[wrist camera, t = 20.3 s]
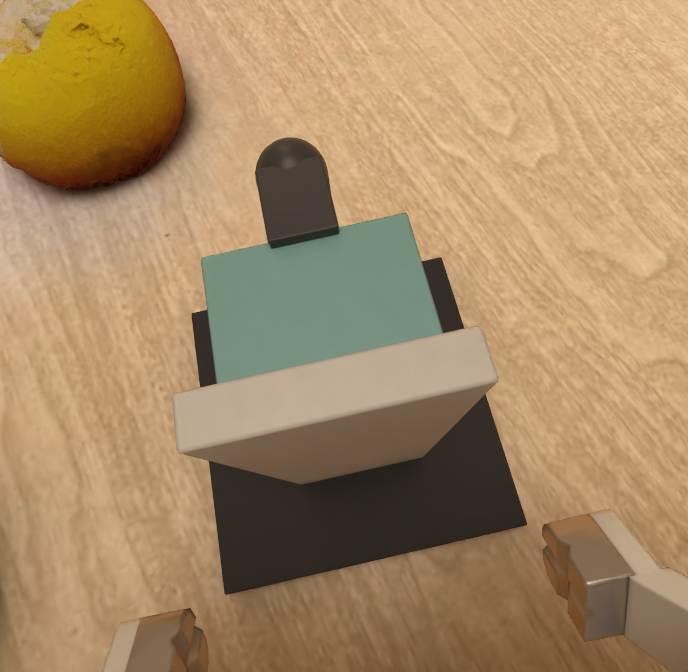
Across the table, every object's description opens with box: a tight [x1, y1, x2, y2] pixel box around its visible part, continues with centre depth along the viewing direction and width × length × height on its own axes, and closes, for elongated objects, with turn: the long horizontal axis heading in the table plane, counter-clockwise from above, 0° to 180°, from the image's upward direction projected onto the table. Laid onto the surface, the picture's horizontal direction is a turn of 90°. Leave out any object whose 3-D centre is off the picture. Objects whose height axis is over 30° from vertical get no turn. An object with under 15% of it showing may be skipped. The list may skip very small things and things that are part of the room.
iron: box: [172, 138, 498, 484], centre depth 15 cm, size 8×5×13 cm
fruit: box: [0, 0, 186, 191], centre depth 25 cm, size 11×10×8 cm
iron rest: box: [192, 258, 527, 595], centre depth 21 cm, size 12×12×1 cm
